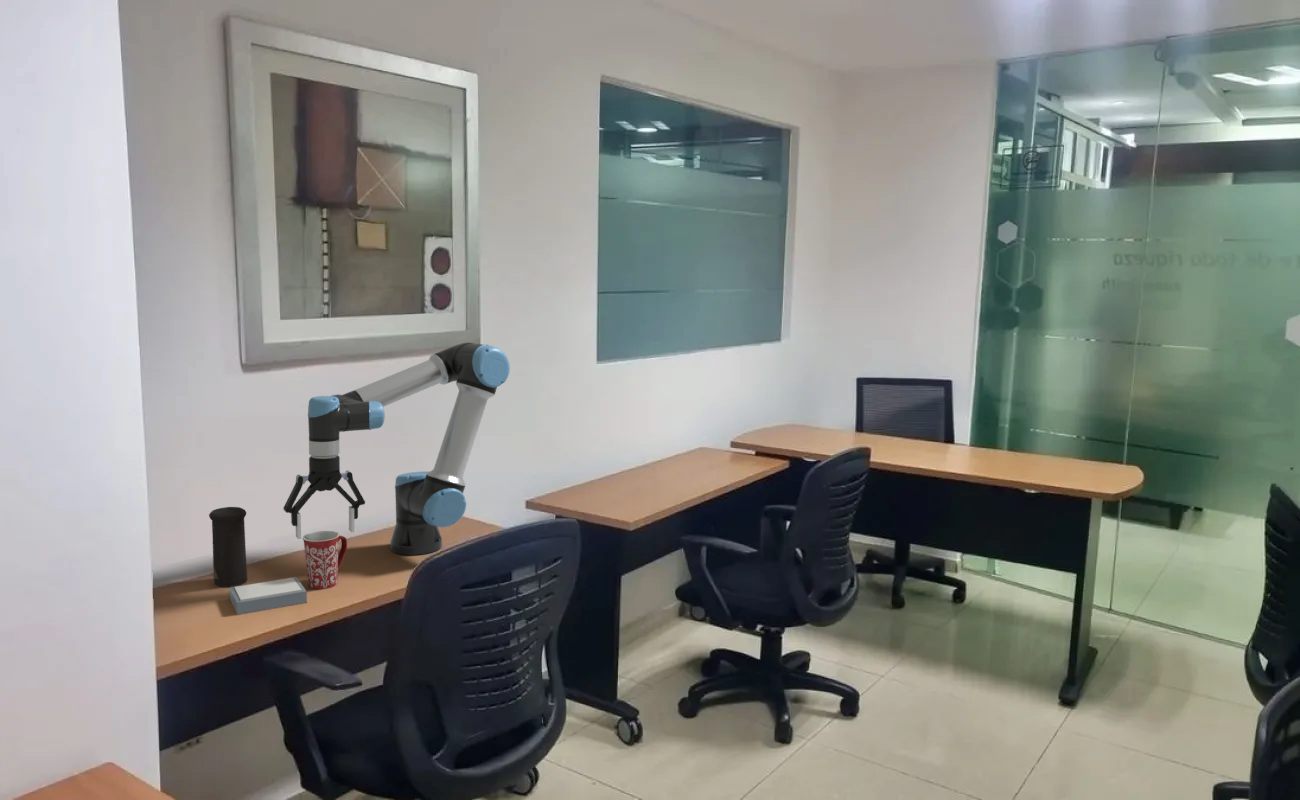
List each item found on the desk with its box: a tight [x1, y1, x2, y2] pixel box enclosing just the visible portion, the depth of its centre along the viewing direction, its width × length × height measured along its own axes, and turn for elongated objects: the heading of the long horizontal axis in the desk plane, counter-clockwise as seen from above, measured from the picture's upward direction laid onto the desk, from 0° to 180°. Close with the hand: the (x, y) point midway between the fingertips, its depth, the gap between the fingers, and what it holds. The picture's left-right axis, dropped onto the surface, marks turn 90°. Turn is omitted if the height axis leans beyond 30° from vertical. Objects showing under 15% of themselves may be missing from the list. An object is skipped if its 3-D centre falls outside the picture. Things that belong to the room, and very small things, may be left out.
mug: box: [302, 530, 348, 590], centre depth 236 cm, size 13×9×14 cm
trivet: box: [229, 576, 308, 616], centre depth 223 cm, size 16×12×3 cm
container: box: [208, 506, 248, 588], centre depth 234 cm, size 9×9×20 cm
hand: (325, 534), depth 235 cm, fingers open, 13 cm apart
